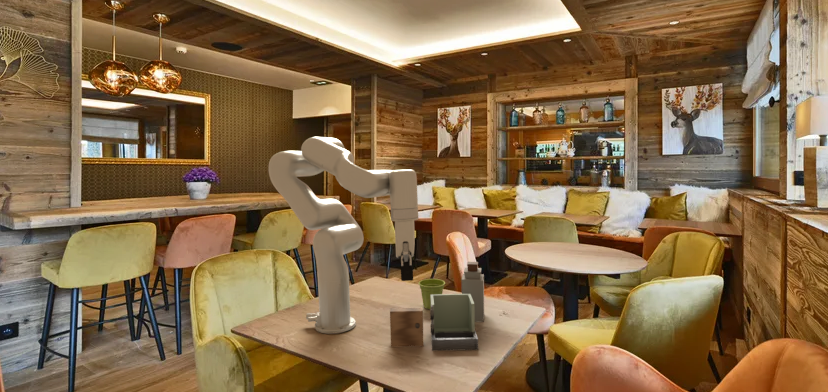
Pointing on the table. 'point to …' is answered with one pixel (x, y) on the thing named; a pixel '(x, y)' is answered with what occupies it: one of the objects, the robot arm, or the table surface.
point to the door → (406, 327)
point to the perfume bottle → (474, 288)
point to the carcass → (453, 312)
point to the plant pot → (430, 290)
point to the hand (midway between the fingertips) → (407, 275)
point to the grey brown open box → (452, 338)
